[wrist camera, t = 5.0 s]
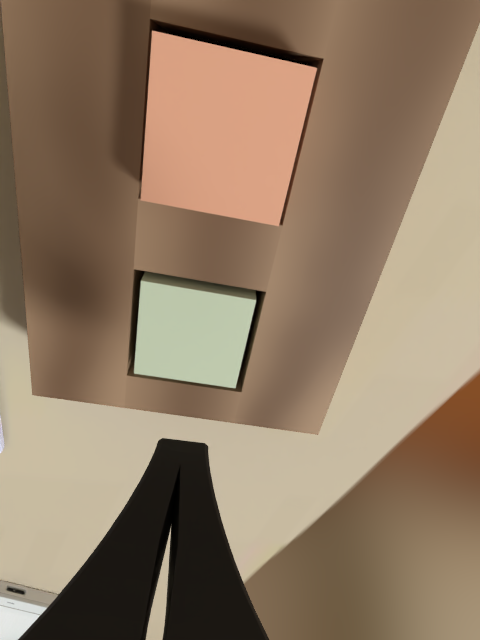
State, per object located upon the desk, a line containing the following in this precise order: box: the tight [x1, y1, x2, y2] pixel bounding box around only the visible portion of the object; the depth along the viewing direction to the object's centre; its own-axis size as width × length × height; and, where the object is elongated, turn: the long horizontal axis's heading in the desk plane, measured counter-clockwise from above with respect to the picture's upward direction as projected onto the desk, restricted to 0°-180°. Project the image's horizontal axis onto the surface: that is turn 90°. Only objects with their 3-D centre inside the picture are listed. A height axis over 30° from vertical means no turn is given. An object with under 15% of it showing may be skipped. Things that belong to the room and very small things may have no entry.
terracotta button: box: [141, 31, 317, 226], centre depth 12 cm, size 4×4×2 cm
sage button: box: [134, 271, 256, 388], centre depth 16 cm, size 4×4×2 cm
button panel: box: [0, 0, 480, 435], centre depth 13 cm, size 12×22×3 cm, turn 169°
